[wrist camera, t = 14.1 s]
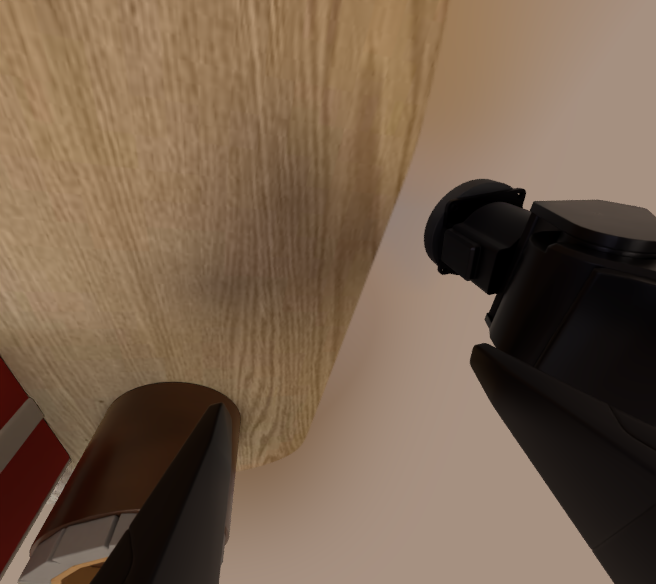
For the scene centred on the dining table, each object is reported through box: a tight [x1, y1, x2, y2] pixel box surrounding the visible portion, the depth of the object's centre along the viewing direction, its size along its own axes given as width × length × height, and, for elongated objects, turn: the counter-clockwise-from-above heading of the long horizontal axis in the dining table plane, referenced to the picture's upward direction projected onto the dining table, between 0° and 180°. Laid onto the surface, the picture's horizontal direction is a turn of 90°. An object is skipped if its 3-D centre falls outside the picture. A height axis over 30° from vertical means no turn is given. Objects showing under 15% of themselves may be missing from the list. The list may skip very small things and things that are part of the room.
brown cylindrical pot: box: [30, 383, 241, 568], centre depth 23 cm, size 12×12×10 cm
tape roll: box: [18, 513, 225, 584], centre depth 18 cm, size 11×11×2 cm
